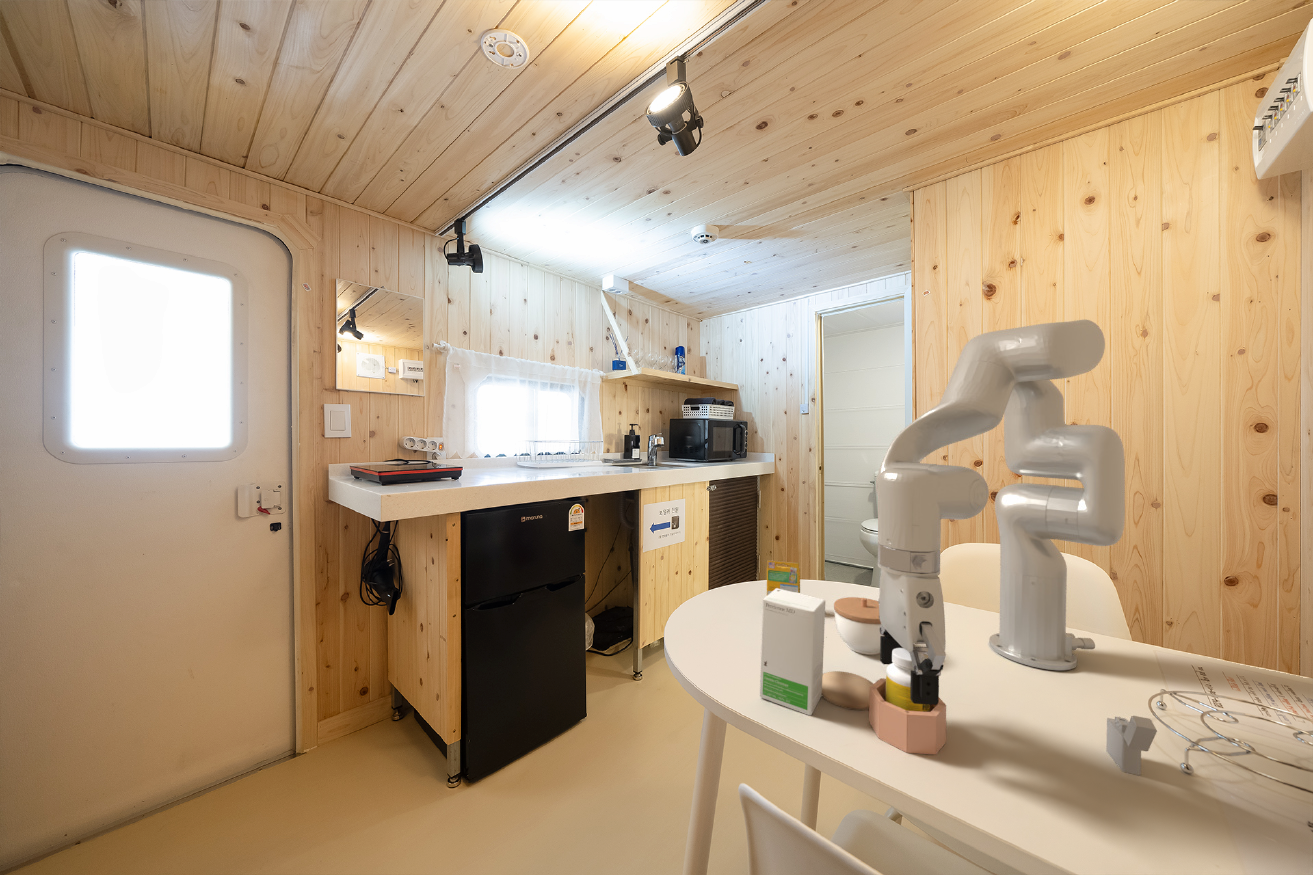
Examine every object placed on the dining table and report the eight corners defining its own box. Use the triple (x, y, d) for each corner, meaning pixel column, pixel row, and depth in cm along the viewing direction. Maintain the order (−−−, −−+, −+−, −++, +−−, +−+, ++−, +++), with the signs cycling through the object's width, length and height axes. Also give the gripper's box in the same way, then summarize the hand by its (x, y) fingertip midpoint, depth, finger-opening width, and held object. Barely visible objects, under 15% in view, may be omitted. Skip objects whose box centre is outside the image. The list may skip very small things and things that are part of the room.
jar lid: (866, 678, 77) (866, 672, 77) (888, 711, 68) (889, 704, 68) (811, 675, 78) (811, 669, 78) (826, 708, 69) (826, 701, 69)
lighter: (1105, 749, 60) (1106, 689, 60) (1123, 753, 59) (1124, 692, 59) (1135, 788, 53) (1137, 720, 53) (1156, 793, 53) (1157, 724, 52)
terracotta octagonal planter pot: (923, 714, 67) (923, 680, 67) (956, 755, 59) (956, 716, 59) (862, 710, 68) (863, 677, 68) (886, 751, 59) (886, 713, 59)
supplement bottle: (930, 742, 60) (930, 667, 60) (883, 728, 63) (884, 657, 63) (929, 720, 65) (930, 650, 64) (886, 708, 67) (887, 641, 67)
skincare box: (758, 698, 71) (759, 598, 71) (773, 679, 77) (774, 586, 76) (813, 717, 67) (814, 610, 66) (825, 695, 72) (826, 596, 72)
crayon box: (800, 609, 106) (800, 559, 106) (799, 614, 103) (799, 563, 103) (768, 605, 109) (768, 556, 108) (766, 610, 106) (766, 560, 106)
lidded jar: (881, 635, 93) (882, 589, 93) (905, 662, 82) (905, 610, 82) (827, 633, 94) (827, 587, 94) (843, 659, 83) (843, 608, 83)
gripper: (974, 579, 54) (973, 723, 54) (908, 543, 71) (906, 652, 72) (908, 578, 55) (906, 720, 55) (857, 542, 72) (857, 650, 72)
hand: (906, 681), depth 63 cm, fingers open, 9 cm apart
